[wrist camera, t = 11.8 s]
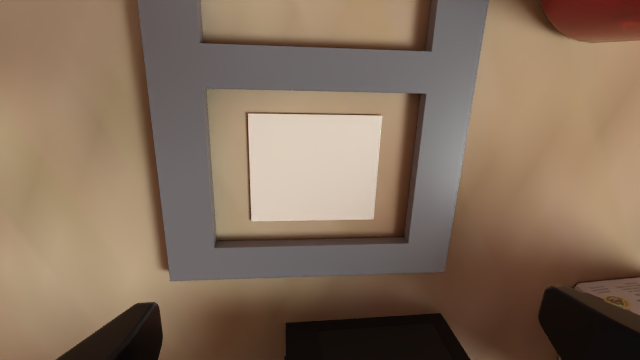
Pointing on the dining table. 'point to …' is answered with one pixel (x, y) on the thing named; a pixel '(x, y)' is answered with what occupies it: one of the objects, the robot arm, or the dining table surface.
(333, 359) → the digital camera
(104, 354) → the robot arm
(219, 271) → the label frame
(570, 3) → the soda can
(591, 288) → the coffee box
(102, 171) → the dining table surface
